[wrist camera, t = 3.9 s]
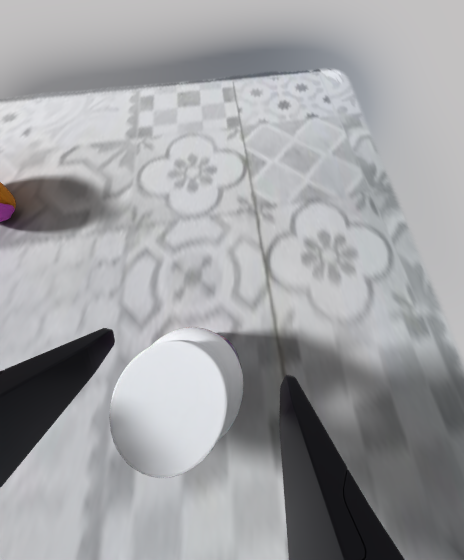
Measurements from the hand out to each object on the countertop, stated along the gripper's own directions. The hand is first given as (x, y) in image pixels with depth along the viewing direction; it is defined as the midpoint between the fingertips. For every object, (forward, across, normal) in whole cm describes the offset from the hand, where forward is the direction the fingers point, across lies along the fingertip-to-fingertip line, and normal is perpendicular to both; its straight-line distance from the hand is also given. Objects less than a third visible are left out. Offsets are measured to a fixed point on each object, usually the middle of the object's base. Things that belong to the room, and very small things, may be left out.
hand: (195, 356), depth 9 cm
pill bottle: (+4, 0, +6) cm, 7 cm away
